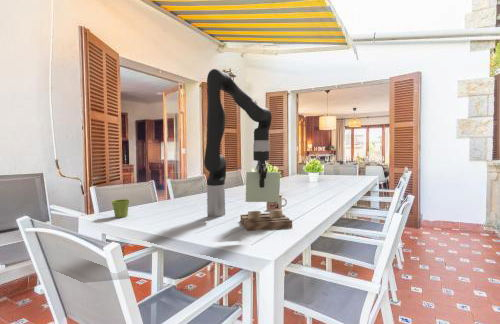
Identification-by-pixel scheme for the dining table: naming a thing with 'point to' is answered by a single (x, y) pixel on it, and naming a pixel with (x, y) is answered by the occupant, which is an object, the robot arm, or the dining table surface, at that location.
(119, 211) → the plant pot
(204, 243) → the dining table surface
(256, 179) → the panel
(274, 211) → the offcut right
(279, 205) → the teacup with lid
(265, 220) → the rack
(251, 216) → the offcut left
